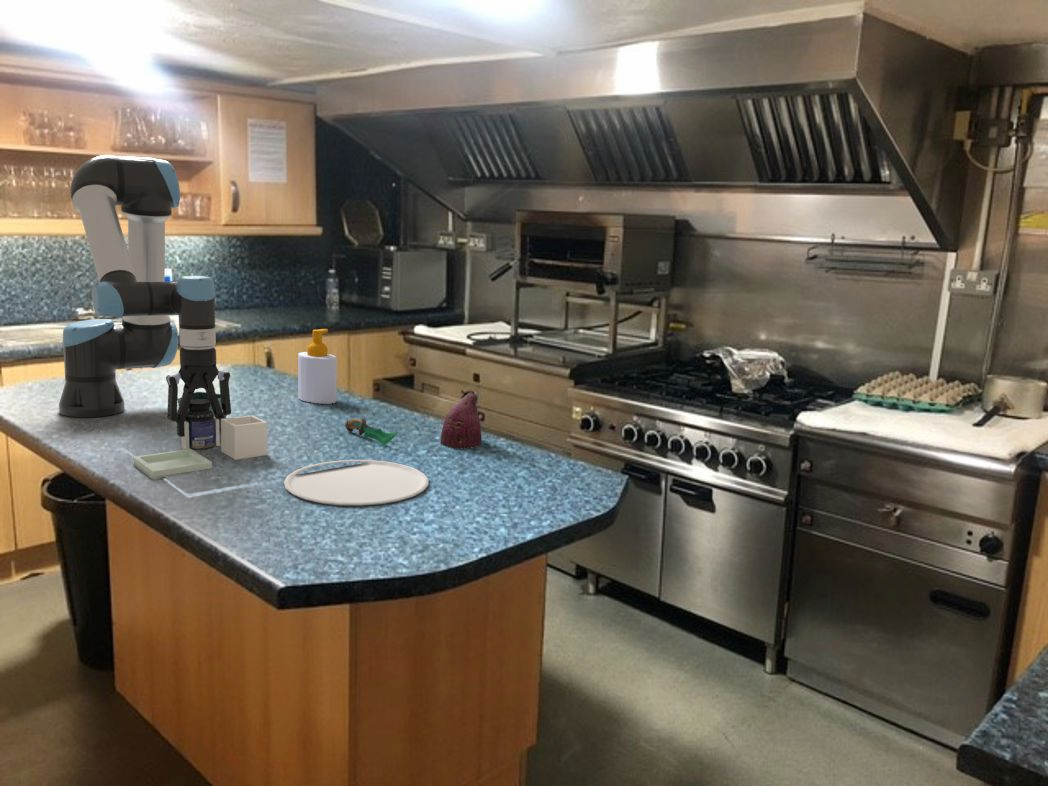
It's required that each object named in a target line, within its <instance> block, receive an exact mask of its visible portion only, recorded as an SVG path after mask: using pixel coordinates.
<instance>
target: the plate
mask: <svg viewBox="0 0 1048 786" xmlns="http://www.w3.org/2000/svg"><path fill="white" fill-rule="evenodd" d="M353 462H355V463H356V462H357V463H356V464H350V465H345V466H338V467H334V468H328V469H322V470H317V471H311V472H304V473H300V472H303V471H305V470H308V469H310V468H311V469H312V468H315V467H319V466H323V465H329V464H337V463H353ZM359 462H360V463H359ZM299 473H300V474H299ZM283 485H284V488H285V490H286V491H287V492H289V493H291V494H292V495H293V496H295V497H297V498H300V499H302V500H304V501H305V500H306V501H309V502H314V503H318V504H323V505H333V506H346V507H347V506H348V507H349V506H350V507H351V506H355V507H357V506H358V507H363V506H376V505H377V506H378V505H384V504H385V505H386V504H391V503H396V502H400V501H404V500H407V499H411V498H414V497H415V496H417V495H419V494H421V493H423V492H424V491H425V490H426V489H427V488H428V487H429V478H428V476H426V474H425V473H423V472H422V471H421V470H418V469H417V468H415V467H411V466H408V465H405V464H401V463H396V462H392V461H384V460H383V461H382V460H377V459H376V460H374V459H345V460H342V459H341V460H333V461H325V462H319V463H314V464H311V465H306V466H303V467H301V468H299V469H296V470H294V471H293V472H291V473H290V474H288V475H286V477H285V479H284V480H283Z"/></svg>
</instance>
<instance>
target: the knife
mask: <svg viewBox="0 0 1048 786" xmlns="http://www.w3.org/2000/svg"><path fill="white" fill-rule="evenodd" d="M344 424H345V425H344V426H345V429H346V431H348V433H349V432H350V433H352V432H353V431H354V430H357V431H358V435H359V436H362V435H363V438H370V439H374V440H375V441H377V442H378V443H380V444H381V445H382V446H385V445H387V444H389V443H390V442H391V441H392V440H393V439H394V438H395V437H396V435H397V434H398V433H399V430H396V431H394V432H393V431H392V432H385V431H383V430H382V429H381V428H376V427H372V426H370V425H369V424H367V419H365V418H361V419H359V418H353V419H349V420H346V421H345V423H344Z"/></svg>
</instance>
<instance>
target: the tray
mask: <svg viewBox="0 0 1048 786" xmlns="http://www.w3.org/2000/svg"><path fill="white" fill-rule="evenodd" d="M132 462H133V463H132V464H133V466H134V467H135V466H136V467H135V468H137V469H138V470H139V471H141V472H142V473H143V474H144V475H146V476H147V477H148V478H149V479H151V480H152V481H156V480H162V479H166V477H165V476H171V475H176V474H177V475H178V474H184V473H191V472H196V471H203V470H209V469H213V462H212V461H211V460H209V459H207V458H206V457H205V456H203V455H201V454H199V453H198V452H197V451H196V450H192V449H179V450H172V451H166V452H165V451H164V452H157V453H151V454H143V455H137V456H132Z"/></svg>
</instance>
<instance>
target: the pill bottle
mask: <svg viewBox="0 0 1048 786" xmlns="http://www.w3.org/2000/svg"><path fill="white" fill-rule="evenodd" d="M209 407H210V401H209V400H205V399H195V400H191V402H190V405H189V411H188V412H187V416H186V419H185V421H186V422H188V423H189V449H192V450H193V451H205V450H209V449H213V448H215V437H214V414H213V412H212V411H210V410H209Z"/></svg>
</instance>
